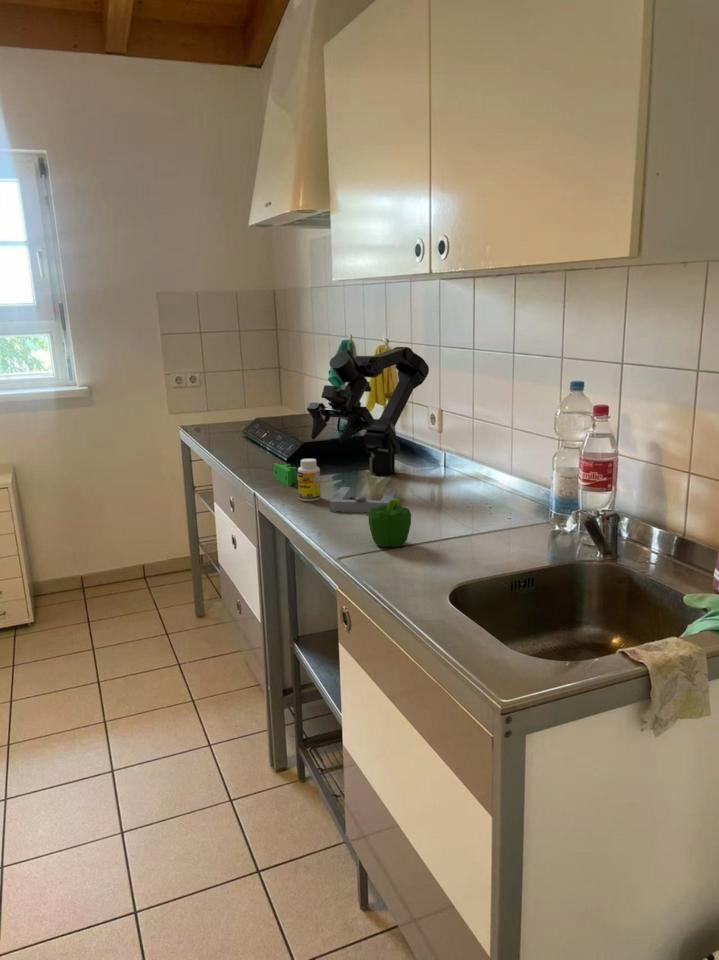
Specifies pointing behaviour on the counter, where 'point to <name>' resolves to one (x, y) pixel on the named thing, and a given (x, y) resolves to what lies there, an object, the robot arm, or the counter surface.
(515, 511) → the counter surface
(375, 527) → the bell pepper
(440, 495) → the counter surface
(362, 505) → the housing cradle
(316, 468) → the supplement bottle
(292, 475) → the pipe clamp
